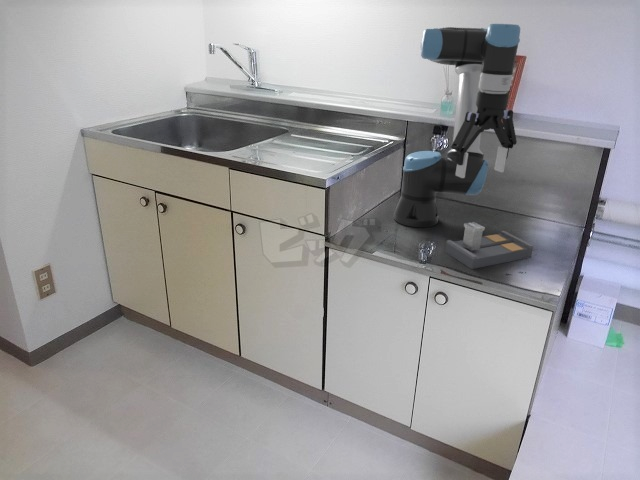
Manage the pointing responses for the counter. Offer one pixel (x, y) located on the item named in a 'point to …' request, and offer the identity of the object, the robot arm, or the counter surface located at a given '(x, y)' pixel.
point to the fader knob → (472, 236)
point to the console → (490, 250)
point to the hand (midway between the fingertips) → (479, 173)
